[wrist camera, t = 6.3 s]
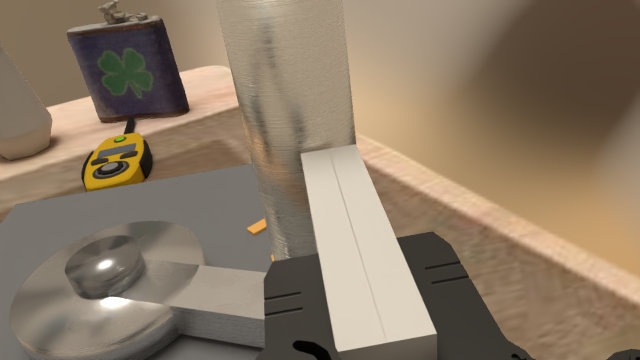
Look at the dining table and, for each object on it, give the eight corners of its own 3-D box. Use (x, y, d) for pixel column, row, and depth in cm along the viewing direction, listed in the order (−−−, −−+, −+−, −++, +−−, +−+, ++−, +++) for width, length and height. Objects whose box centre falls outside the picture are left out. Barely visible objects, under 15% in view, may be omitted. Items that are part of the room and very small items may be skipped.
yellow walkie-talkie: (68, 189, 32) (101, 111, 45) (79, 212, 33) (108, 130, 46) (141, 172, 33) (153, 101, 45) (150, 196, 34) (159, 119, 46)
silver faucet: (-18, 359, 20) (-263, 21, 13) (108, 239, 26) (-10, -27, 19) (348, 440, 15) (268, -37, 8) (392, 268, 21) (368, -76, 14)
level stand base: (-388, 773, 12) (-440, 758, 11) (23, 219, 32) (14, 202, 32) (492, 582, 12) (495, 559, 12) (342, 163, 33) (340, 146, 33)
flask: (95, 124, 47) (51, 11, 41) (109, 112, 49) (69, 4, 44) (185, 116, 45) (151, -1, 40) (194, 105, 48) (164, -8, 43)
